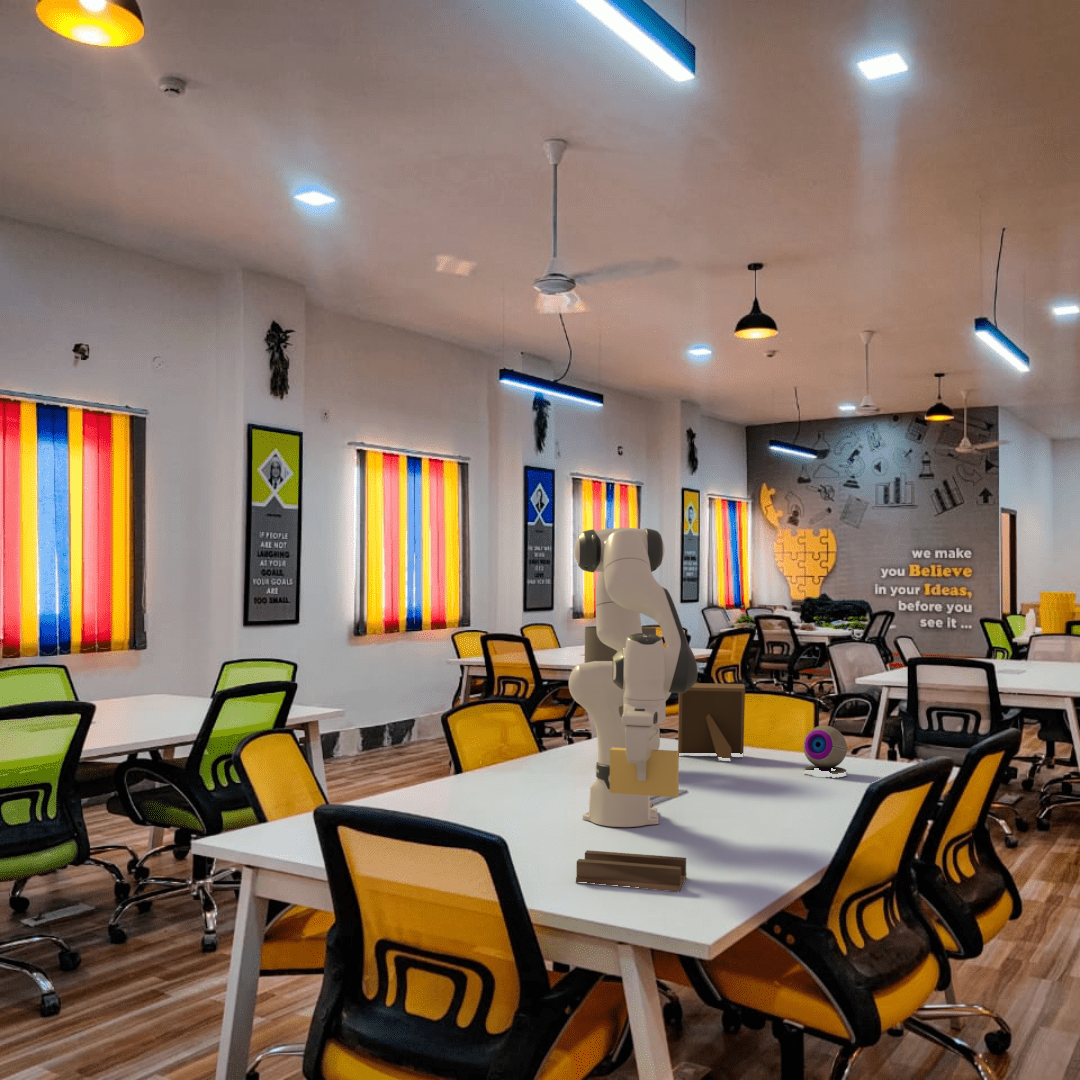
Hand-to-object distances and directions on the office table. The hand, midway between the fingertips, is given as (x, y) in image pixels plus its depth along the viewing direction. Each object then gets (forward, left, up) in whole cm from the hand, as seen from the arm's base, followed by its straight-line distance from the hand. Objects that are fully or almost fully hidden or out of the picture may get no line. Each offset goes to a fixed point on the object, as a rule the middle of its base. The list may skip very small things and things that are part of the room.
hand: (644, 778), depth 218 cm
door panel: (0, 0, -3) cm, 3 cm away
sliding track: (+14, 0, -17) cm, 22 cm away
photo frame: (-139, -1, -18) cm, 140 cm away
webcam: (-119, +36, -18) cm, 125 cm away
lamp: (-112, -27, -18) cm, 116 cm away
